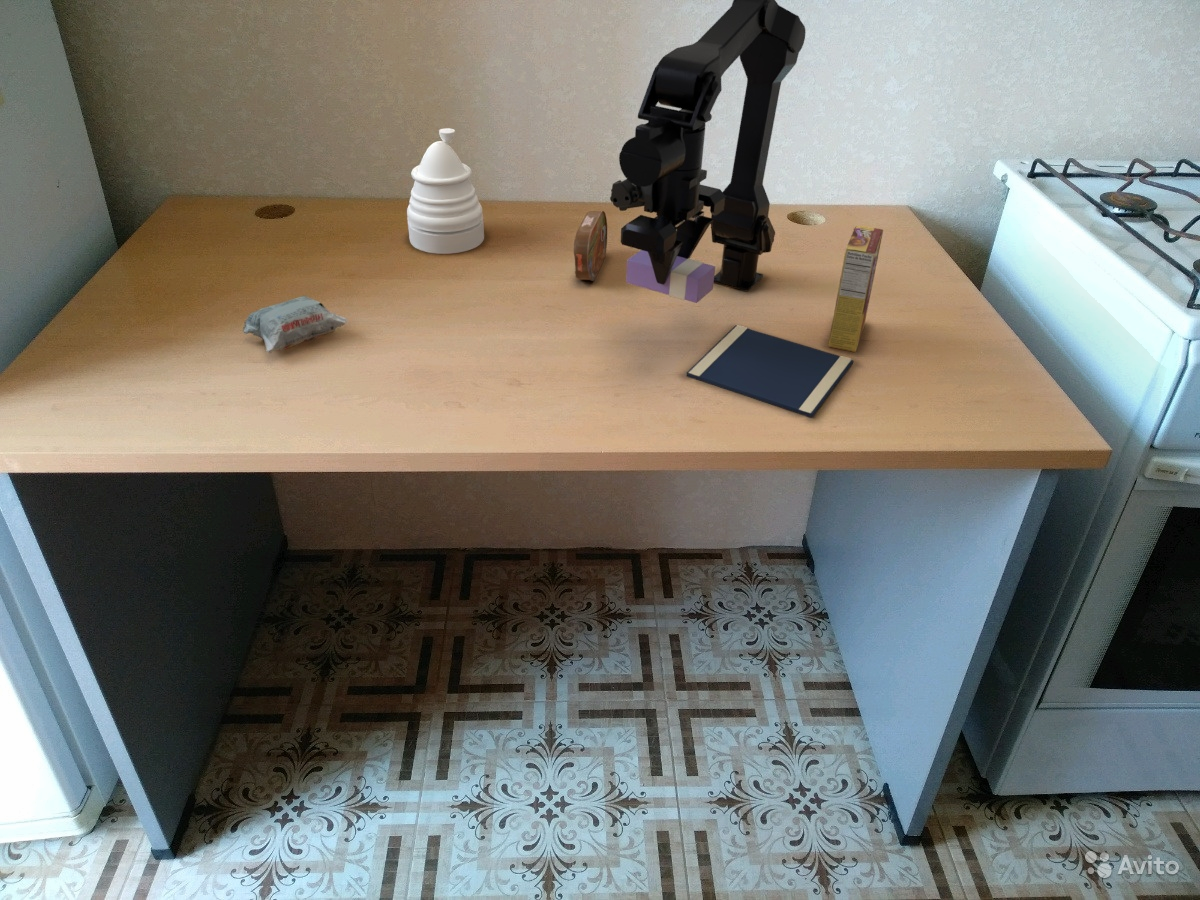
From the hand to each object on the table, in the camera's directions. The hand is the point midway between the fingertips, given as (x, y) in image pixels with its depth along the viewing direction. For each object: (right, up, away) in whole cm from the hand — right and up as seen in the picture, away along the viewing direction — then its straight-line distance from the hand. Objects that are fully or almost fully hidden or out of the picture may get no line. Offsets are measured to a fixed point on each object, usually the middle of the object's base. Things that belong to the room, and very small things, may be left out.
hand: (670, 276), depth 122 cm
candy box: (+26, -7, +9) cm, 29 cm away
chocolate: (0, -1, +1) cm, 2 cm away
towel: (+14, -13, 0) cm, 19 cm away
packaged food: (-52, -8, +4) cm, 53 cm away
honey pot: (-36, +13, +33) cm, 51 cm away
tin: (-11, +6, +25) cm, 28 cm away
